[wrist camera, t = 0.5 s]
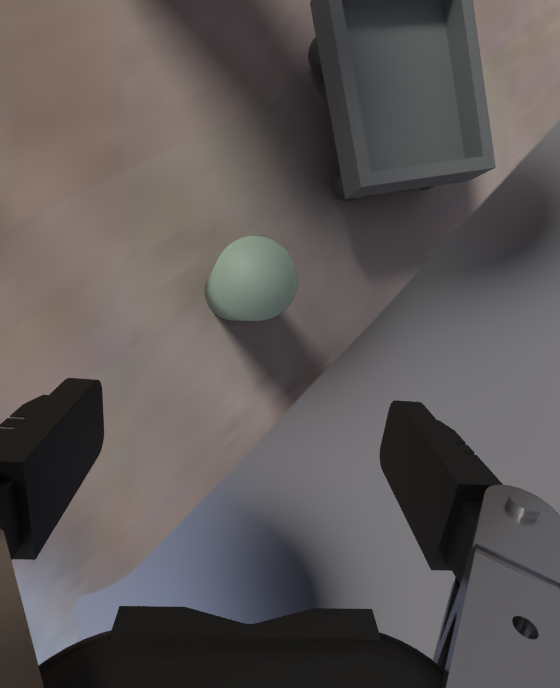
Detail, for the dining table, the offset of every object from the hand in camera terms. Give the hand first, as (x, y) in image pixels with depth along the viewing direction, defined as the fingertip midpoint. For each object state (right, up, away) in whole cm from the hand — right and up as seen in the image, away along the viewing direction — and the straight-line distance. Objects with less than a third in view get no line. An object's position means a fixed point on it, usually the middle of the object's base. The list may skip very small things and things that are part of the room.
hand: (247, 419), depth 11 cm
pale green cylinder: (-3, +7, +24) cm, 25 cm away
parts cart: (+9, +23, +26) cm, 36 cm away
